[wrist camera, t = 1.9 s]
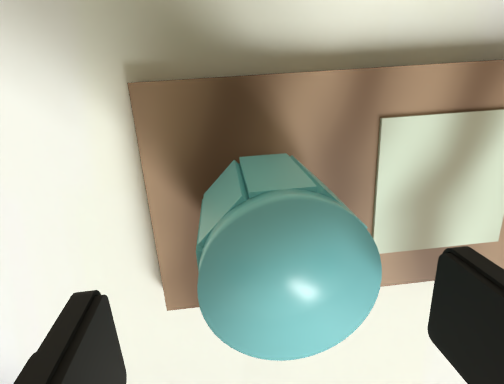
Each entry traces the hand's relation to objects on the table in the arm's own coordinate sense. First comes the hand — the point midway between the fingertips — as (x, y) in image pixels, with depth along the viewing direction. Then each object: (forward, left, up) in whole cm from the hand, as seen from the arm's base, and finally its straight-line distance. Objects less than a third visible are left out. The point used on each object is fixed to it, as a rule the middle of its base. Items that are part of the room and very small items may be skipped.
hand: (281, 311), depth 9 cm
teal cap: (-1, 0, -7) cm, 7 cm away
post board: (-6, 0, -11) cm, 12 cm away
